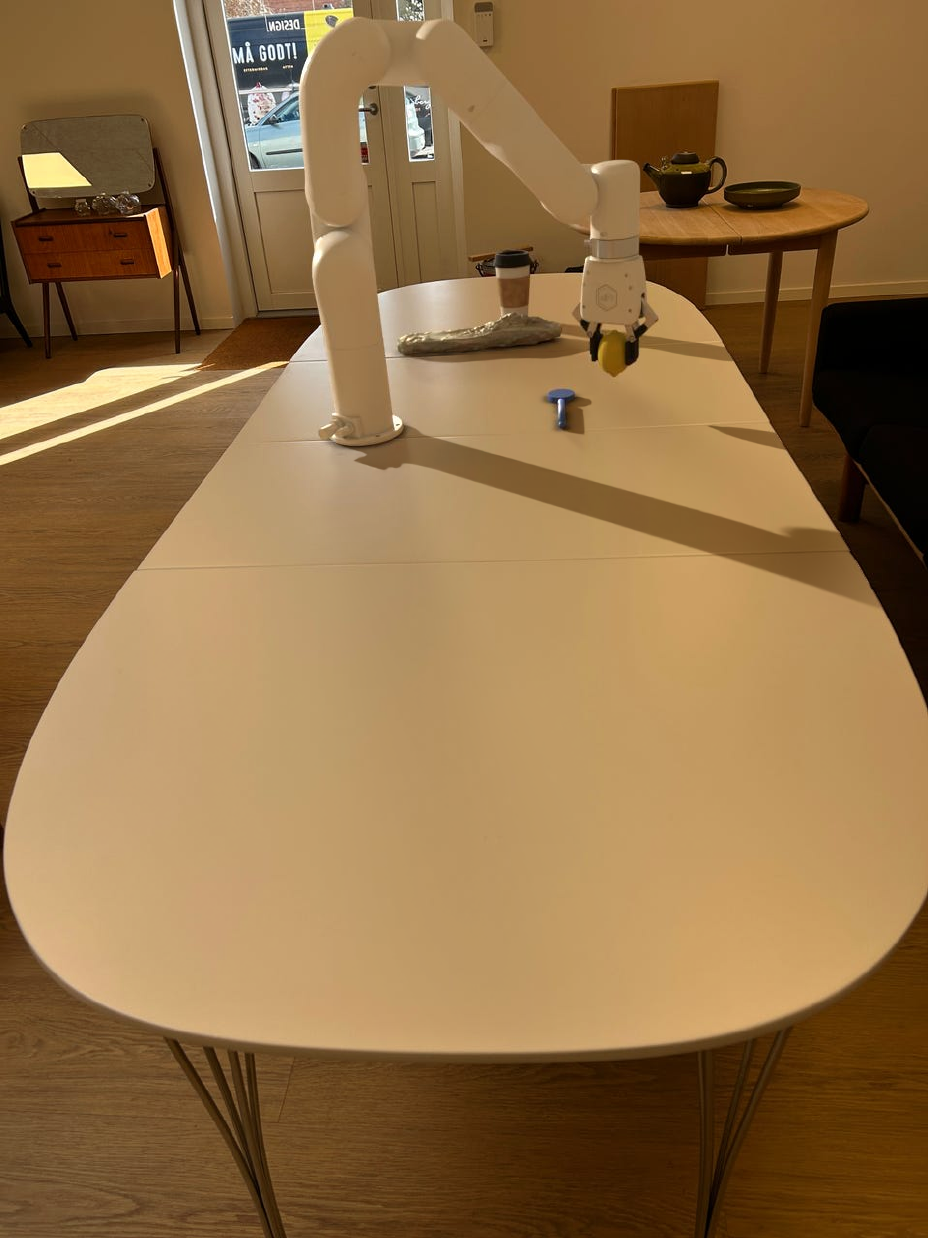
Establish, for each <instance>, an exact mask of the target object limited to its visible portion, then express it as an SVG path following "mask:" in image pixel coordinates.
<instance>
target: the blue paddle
mask: <svg viewBox="0 0 928 1238" xmlns="http://www.w3.org/2000/svg"><path fill="white" fill-rule="evenodd" d="M575 398H576V392H575V391H574V390H572V389H569V388H557V389H552V390H550V391H548V393H547V401H548V402H550V403H553V404H557V423H558V426H557V427H558V428H559V429H561V430H563V429H565V428H566V426H567V423H566V422H567V421H566V403H570V402H573V401H574V400H575Z"/></svg>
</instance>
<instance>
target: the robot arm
mask: <svg viewBox="0 0 928 1238" xmlns="http://www.w3.org/2000/svg"><path fill="white" fill-rule="evenodd" d="M374 86H376V87H428V88H429V90H431V92H433V94H434V95H435V96H436V97H437V98H438V99H439V100H440V101H441V102H442V103H443V104H444V105H445V107H447V108H448V110H449V111H451V113H452V114H453V115H454V116H455V117H456V118H457V119H458V120H459V122H461V124H462V125H463V126H464V127H465V128H466V129H467V130H468V132H470V133H471V134H472V136H473V137H474V138H475V139H476V140H477V141H478V142H479V143H480V144H481V145H482V146H483V147H484V149H485V150H487V151H488V152H489V153H490V154H491V156H493V157H495V158H496V159H497V160H498V161H500V162H501V163H503V164H504V165H505V166H506V167H507V168H508V169H509V170H510V171H511V172H512V173H513V174H514V175H515V176H516V177H517V178H518V179H519V180H520V181H521V182H522V183H523V184H524V185H525V186H526V187H527V188H528V189H529V190H530V191H531V192H532V193H533V194H534V196H535V197H536V198H537V199H538V200H539V202H540V204H541V206H542V207H543V208H544V209H545V211H547V212H548V213H549V214H550V215H551V216H553V217H554V218H555V220H557V221H558V222H560V223H562V224H565V225H571V226H572V225H573V226H574V225H579V224H581V223H584V222H586V221H587V220H588V219H589V218H590V236H589V238H585V239H584V240H583V247H584V249H589V256H586V258H585V261H584V266H583V270H582V271H583V272H582V279H581V280H582V281H581V289H580V290H581V291H580V302H579V303H578V304H577V305H576V306H575V308H574V309H573V310H572V312H571V316H572V317H573V318H574V319H575V320H576V322H577V323H579V325H580V326H581V328H582V329H583V331H585V334H586V336H587V338H589V355H590V361H591V362H593V363H595V362H597V361H598V347H599V344H600V341H601V339H602V338H603V337H604V334H603V333H602V332H601V331H602V327H603V324H605V325H615V326H624V328H625V332H626V335H627V336H626V337H627V338H628V341H627V342H626V343H625V365H626V366H628V367H630V366H631V365H633V364H634V363H636V362H637V361H638V359H639V356H640V338H642V337H643V335H645V333H646V332H647V331H648V330H650V328H652V327H653V326H654V325H655V324H656V323H657V322H658V321H659V316H658V314H656V312H655V311H654V309H653V308H652V307H651V305H650V304H649V302H648V292H647V277H646V269H645V263H644V258H643V255H640V207H641V206H640V204H641V200H640V199H641V169H640V165H639V164H638V163H637V162H636V161H633V160H629V159H613V160H605V161H601V162H598V163H581V162H580V161H579V160H578V159H577V158H576V157H575V155H574V154H573V153H572V152H571V151H570V150H569V149H568V148H567V146H566V145H565V144H564V143H563V142H562V141H561V140H560V139H559V138H558V136H557V135H556V134H555V133H554V132H553V131H552V130H551V129H550V127H548V125H547V124H546V123H545V122H544V121H543V120H542V118H541V117H540V116H539V115H538V113H537V112H536V111H535V109H534V108H533V106H531V104H530V103H529V102H528V101H527V100H526V98H525V97H523V95H522V94H521V92H519V91H518V89H516V87H515V86H514V85H513V84H512V83H511V82H510V81H509V80H508V79H507V77H506V76H505V75H504V74H503V72H502V71H500V69H499V68H498V67H497V66H496V65H495V63H494V62H493V61H492V60H491V59H490V58H489V57H488V55H486V53H485V52H484V51H483V50H482V49H481V48H480V46H478V44H477V43H476V42H475V41H474V40H473V39H472V37H471V36H470V35H469V34H468V33H467V32H466V31H465V29H463V27H462V26H460V25H459V24H458V23H457V22H454V21H453V20H451V19H447V18H436V19H431V20H429V19H428V20H396V19H375V18H374V19H373V18H368V17H365V16H364V17H363V16H352V17H349V18H347V19H344V20H343V21H341V22H339V23H338V24H337V25H335V26H334V27H333V28H331V29H330V30H328V31H327V33H325V34H324V35H323V36H322V37H321V38H320V39H319V40H318V41H317V42H316V43H315V45H314V46H313V47H312V49H311V50H310V52H309V53H308V56H307V58H306V60H305V62H304V65H303V68H302V71H301V75H300V80H299V86H298V87H299V88H298V109H299V110H298V111H299V122H300V123H299V125H300V133H301V134H300V135H301V148H302V158H303V169H304V194H305V195H304V196H305V199H306V203H307V205H308V207H309V215H310V224H311V225H310V226H311V232H312V240H313V249H314V252H313V253H314V254H313V257H312V264H311V265H312V266H311V272H312V273H311V277H312V284H313V290H314V296H315V299H316V305H317V310H318V315H319V320H320V326H321V333H322V338H323V345H324V349H325V354H326V362H327V368H328V374H329V381H330V386H331V393H332V400H333V406H334V413H332V414H331V419H332V421H330V423H329V424H327V425H325V426H323V427H320V428H319V429H318V432H317V434H318V437H319V438H320V440H322V441H325V440H328V439H330V440H331V441H332V442H334V443H336V444H338V445H339V444H340V445H342V446H350V447H363V446H370V445H372V446H373V445H377V444H381V443H382V444H383V443H385V442H388V441H390V440H393V439H395V438H396V437H398V436H399V435H400V434H402V432H404V431H403V430H404V422H403V420H402V419H401V418H399V417H398V416H396V415H394V414H393V406H392V399H391V389H390V383H389V375H388V367H387V358H386V351H385V342H384V337H383V336H384V335H383V328H382V320H381V314H380V312H381V311H380V305H379V294H378V287H377V286H378V285H377V275H376V268H375V267H376V266H375V258H374V249H373V248H374V247H373V236H372V225H371V215H370V214H371V212H370V199H369V186H368V179H367V176H366V173H365V170H364V168H363V167H364V165H363V158H362V157H363V156H362V146H361V127H360V125H361V124H360V111H359V110H360V103H361V99H362V97H363V94H364V93H365V91H366V90H367V89H368V88H370V87H374ZM643 318H645V321H643V322H642V323H641V324H640V319H643Z"/></svg>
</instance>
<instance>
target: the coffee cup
mask: <svg viewBox="0 0 928 1238" xmlns="http://www.w3.org/2000/svg"><path fill="white" fill-rule="evenodd" d="M531 264H532V259H531V257H530V252H529V251H528V250H523V249H511V250H504V251H500V252H496V253H495V254H494V260H493V267H494V268H495V280H496V288H497V295H498V302H499V307H500V308H499V309H500V315H501V316H500V317H503V316H505V315H507V314H509V313H514V312H515V313H516V314H517V315H521V316H522V315H528V316H529V305H530V304H529V303H530V287H531V272H530V267H531V266H530V265H531Z"/></svg>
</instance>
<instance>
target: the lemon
mask: <svg viewBox="0 0 928 1238" xmlns="http://www.w3.org/2000/svg"><path fill="white" fill-rule="evenodd" d="M627 341H628V336H626V334H625V333H623V332H621V331H618V330H617V329H612V330H611V331H609V332H607V333H606V334H604V335H603V338H602V339H601V341H600V344H599V347H598V360H597V361H598V364H599V366H600V368H601V370H602V371H603V372H605V373H606V374H609V375H610V376H611V377H612V378H617V376H619V374H622V373H623V372H625V370H626V369H627V368H628V367H629V366H626V365H625V343H626V342H627Z"/></svg>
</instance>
